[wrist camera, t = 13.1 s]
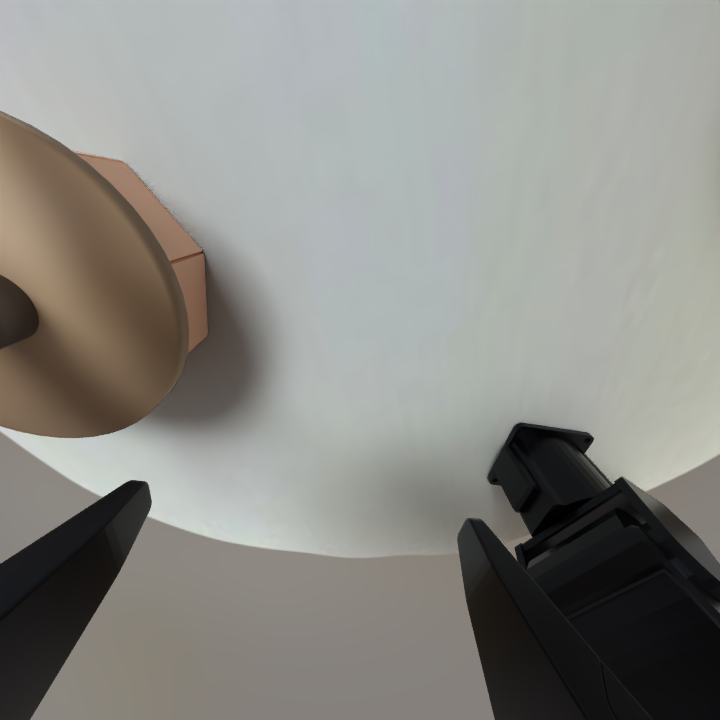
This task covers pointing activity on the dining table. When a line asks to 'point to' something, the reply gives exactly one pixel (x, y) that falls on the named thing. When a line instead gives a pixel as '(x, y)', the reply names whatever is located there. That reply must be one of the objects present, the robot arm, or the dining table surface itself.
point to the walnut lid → (79, 296)
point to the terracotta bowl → (163, 240)
